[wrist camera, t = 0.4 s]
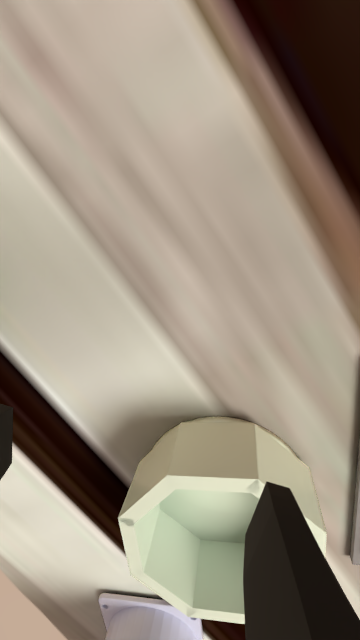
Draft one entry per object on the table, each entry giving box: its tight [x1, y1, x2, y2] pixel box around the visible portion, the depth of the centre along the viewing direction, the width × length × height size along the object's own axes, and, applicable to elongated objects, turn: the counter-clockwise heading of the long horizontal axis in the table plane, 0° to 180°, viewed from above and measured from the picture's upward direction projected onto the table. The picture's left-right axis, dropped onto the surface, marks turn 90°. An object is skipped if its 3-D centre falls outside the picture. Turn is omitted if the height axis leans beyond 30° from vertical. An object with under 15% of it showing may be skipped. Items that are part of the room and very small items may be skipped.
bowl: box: [118, 417, 327, 624], centre depth 19 cm, size 10×10×5 cm
